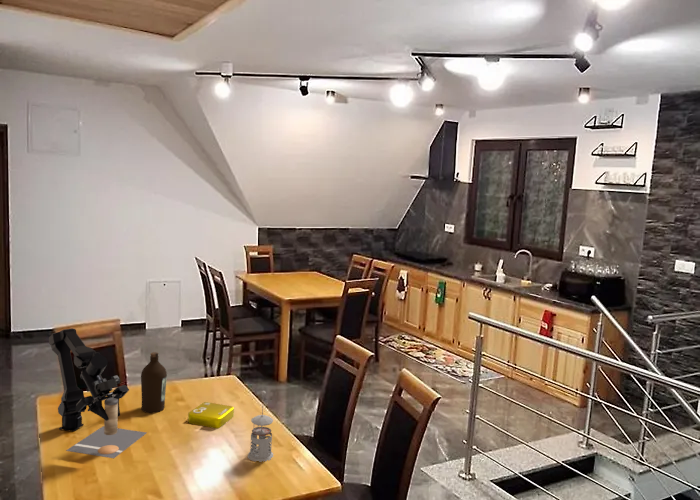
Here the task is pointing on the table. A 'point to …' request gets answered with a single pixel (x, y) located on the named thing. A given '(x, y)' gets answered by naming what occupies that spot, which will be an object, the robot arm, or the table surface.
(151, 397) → the olive oil
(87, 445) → the subfloor panel
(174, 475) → the table surface
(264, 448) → the french press
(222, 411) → the element tile
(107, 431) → the beige cylindrical canister
